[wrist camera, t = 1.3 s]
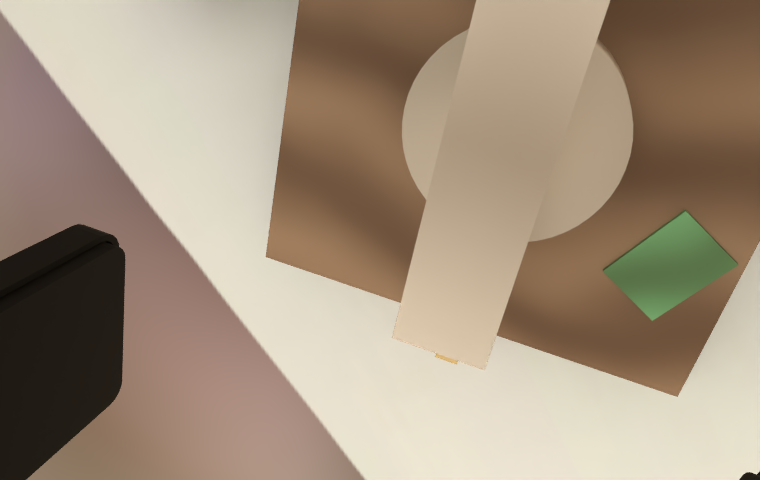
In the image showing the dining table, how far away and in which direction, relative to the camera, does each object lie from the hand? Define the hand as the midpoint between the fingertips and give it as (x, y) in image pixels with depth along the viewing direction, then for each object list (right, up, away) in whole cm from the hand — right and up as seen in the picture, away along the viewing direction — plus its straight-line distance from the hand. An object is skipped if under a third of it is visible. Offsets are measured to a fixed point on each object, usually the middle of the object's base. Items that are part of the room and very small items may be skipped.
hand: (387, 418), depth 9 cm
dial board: (+6, +8, +17) cm, 20 cm away
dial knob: (+5, +5, +17) cm, 18 cm away
